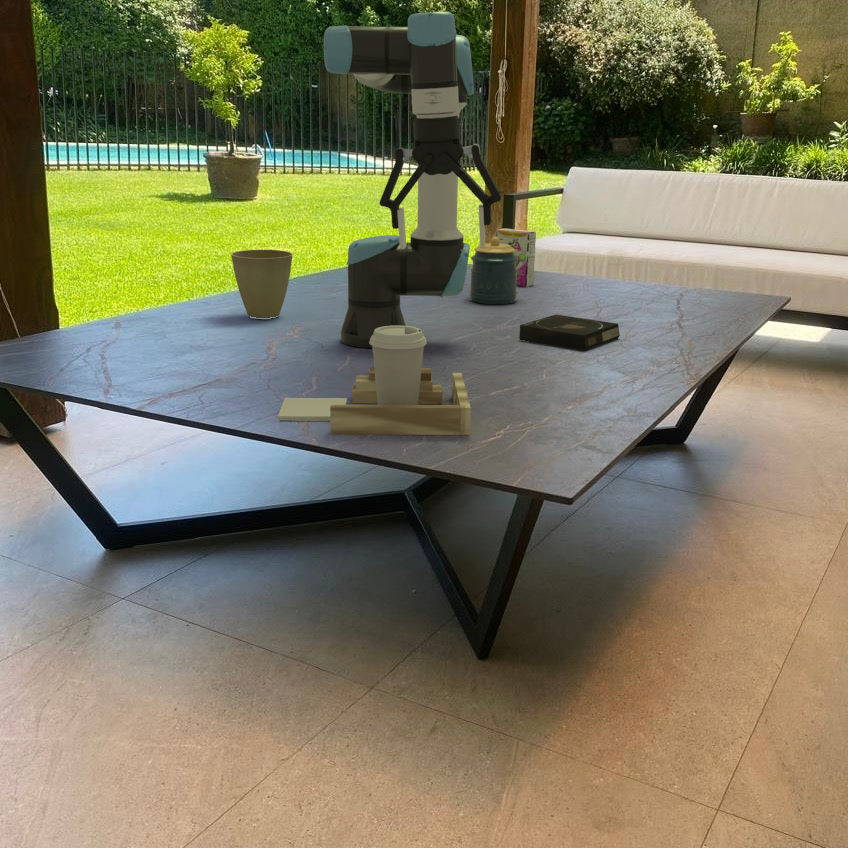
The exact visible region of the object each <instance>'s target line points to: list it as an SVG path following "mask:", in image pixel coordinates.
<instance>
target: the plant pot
mask: <svg viewBox="0 0 848 848" xmlns="http://www.w3.org/2000/svg"><path fill="white" fill-rule="evenodd" d="M293 255H294V254H293V252H291V251H287V250H280V249H244V250H237V251H234V252H232V253H231V254H230V256H231V261H232V267H233V271H234V272H233V273H234V277H235V281H236V284H237V288H238V292H239V295H240V298H241V301H242V303H243V306H244V308H245V312H246V314H247V316H248V317H249V316H251V317H256V318H270V317H276V316H280V314H281V311H282V308H283V306H284V303H285V299H286V295H287V290H288V286H289V282H290V277H291V269H292V261H293Z"/></svg>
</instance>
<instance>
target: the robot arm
mask: <svg viewBox="0 0 848 848" xmlns="http://www.w3.org/2000/svg"><path fill="white" fill-rule="evenodd" d="M470 44H471V43H470V41H469V39H468V38H467V37H466V36H465V35H462V34H461V35H460V34H457V29H456V22H455V15H454V14H453V13H451V12H450V11H434V12H429V11H428V12H418V13H412V14H410V15H409V16H408V19H407V26H366V25H365V26H362V25H361V26H359V25H355V26H354V25H351V26H350V25H344V24H343V25H336V26H334V25H333V26H329V27H328V26H327V28H326V29H325V31H324V35H323V58H324V59H323V60H324V66H325V69H326V71H327V72H328V73H330V74H341V75H353V77H354V78H355V79H356V80H357V81H358V82H359V83H361V84H362V85H364V86H365V87H369V88H372V89H375V90H378V91H382V92H386V93H390V94H391V93H392V94H399V95H400V94H402V95H403V94H404V95H410V96H411V106H412V107H411V109H412V113H413V114H414V115H415V118H414V120H412V123H413V124H412V125H413V127H412V128H413V138H414V139H413V142H414V145H413V149H409V148H404V147H399V148H397V149H396V151H395V156H394V157H395V158H394V159H395V160H394V161H395V162H394V165H393V167H392V169H391V173H390V175H389V177H388V179H387V182H386V185H385V187H384V190H383V192H382V195H381V197H380V200H379V205H380V206H381V207H385V208H388V209H389V210H390V215H391V226H392V228H393V230H394V229H398V234H397V235H396V234H391V235H390V234H388V235H387V234H386V235H385V234H384V235H376V236H369V237H364V238H360V239H359V238H358V239H357V240H354V241H352V242H351V243H350V244H349V245H348V249H347V262H346V265H347V284H348V285H347V297H348V298H347V301H348V303H347V310H346V314H345V316H344V320H343V322H342V327H341V329H340V342H341V343H342V344H344V345H346V346H350V347H354V346H355V348H356V347H357V348H362V349H363V348H365V349H366V348H367V349H373V348H372V345H370V343H369V342H370V338H371V336H372V335H373V334H374V330H375V329H376V328H379V327H383V326H407V325H406V322H405V318H404V315H403V312H402V309H401V296H408V297H410V296H412V297H413V296H415V297H416V296H417V297H420V296H421V297H440V298H443V297H457V296H459V295H461V294H462V292H463V291H464V288H465V283H466V277H467V272H468V263H469V255H470V248H471V247H470V246H471V245H470V244H469V243H467V242H464V234H463V233H462V231H460V230H459V228H458V192H459V191H458V187H459V180H461V182H462V183H463V184H464V185H465V186H466V187H467V188H468V189H469V190H470V192H471V193H472V194H473V195H474V196H475V197H476V198H477V199H478V201H479V202H480V203H481V204H479V205H478V224H479V229H478V230H479V245H480V246H485V244H486V226H490V225H491V223H492V205H493V204H494V203H497V202H500V201H501V199H502V193H501V191H500V190H499V188H498V186H497V184H496V182H495V180H494V179H493V176H492V175H491V172H490V171H489V169H488V167H487V165H486V163H485V161H484V159H483V158H482V154H481V148H480V147H481V146H480V144H479V143H474V144H472V145H468V146H463V145H462V143H461V128H460V126H461V125H460V113H461V111H462V110H463V109H464V107H466V105H467V104H468V96H469V97H471V96H472V95H474V94H475V86H474V85H475V84H474V73H473V64H472V53H471V46H470ZM463 155H466V156H467V157H468V159H469V160H473V163H474V165H475V168H476V170H477V171H478V173H479V175H480V176H481V178H482V180H483V182H484V184H485V185H486V188H487V190H488V192H489V193H490V195H488V194H487V193H486V192H485V190H484V189H483V188H482V187H481V186H480V185H479V184H478V183H477V182H476V181H475V179H474V178H473V177H472V176H471V175H470V174H469V173H468V172H467V171H466V169H465V168H464V166H462V164H461V163H460V160H461V159H462V157H463ZM410 157H412V159H414V160H415V162H416V163H417V168H416V169H415V170H414V172H413V173H412V174H411V176H410V178H408V181H407V182H406V183H405V184H404V185H403V187H402V189H401V190H400V191H399V193H398V194H397V195H396V197H395V198H394V199H392V198H391V196H392V194H393V191H394V189H395V187H396V184H397V182H398V181H399V180H398V179H399V177H400V175H401V173H402V170H403V167H404V163H407V162H409V159H410ZM416 184H417V226H416V228H415V229H414V230H413V231H412V232H411V233H410V241H409V242H407V236H406V235H407V234H406V221H405V220H406V219H405V208H404V207H400V205H401V204H402V203H403V201H404V199H406V197H407V196H408V194H409V193H410V192H411V191H412V189H413V188H414V186H415V185H416Z"/></svg>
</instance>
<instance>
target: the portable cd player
mask: <svg viewBox="0 0 848 848" xmlns="http://www.w3.org/2000/svg"><path fill="white" fill-rule="evenodd" d="M620 336H621V335H620V327H619V323H616V322H609V321H603V320H597V319H590V318H589V319H588V318H581V317H577V316H570V315H562V314H558V313H557V314H553V315H549V316H546V317H543V318H540V319H537V320H533V321H529V322H526V323H522V324H520V325H519V336H518V337H519V339H520V340H525V341H524V342H526V341H529V342H528V343H532V342H533V344H540V345H544V346H545V345H546V346H550V347H557V348H562V349H567V350H568V349H569V350H572V351H573V350H575V351H581V352H585V351H589V350H591V349H594V348H596V347H600V346H602V345H604V344H608V343H611V342H613V341H615V340H618V339H619V338H620ZM520 340H519V341H520Z"/></svg>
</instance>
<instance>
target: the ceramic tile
mask: <svg viewBox="0 0 848 848" xmlns="http://www.w3.org/2000/svg"><path fill="white" fill-rule="evenodd" d="M331 405H348V398H347V397H284V400H283V402H282V404H281V407H280V410H279V413H278V415H277V421H278V420H292V421H291V422H330V406H331ZM294 420H295V421H294Z"/></svg>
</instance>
